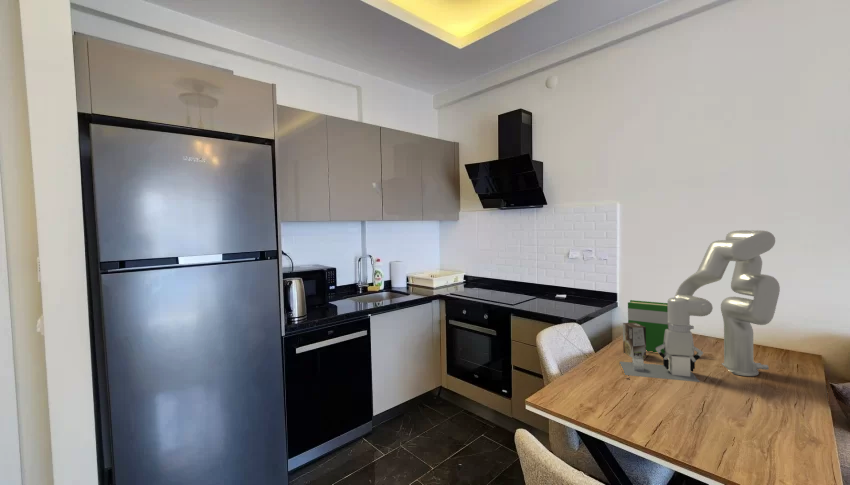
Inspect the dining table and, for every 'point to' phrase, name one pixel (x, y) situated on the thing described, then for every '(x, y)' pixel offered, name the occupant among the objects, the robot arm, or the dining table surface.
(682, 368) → the small cream cube
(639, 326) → the coffee box
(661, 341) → the hardback book
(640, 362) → the post
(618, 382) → the dining table surface
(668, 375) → the board
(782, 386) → the dining table surface
